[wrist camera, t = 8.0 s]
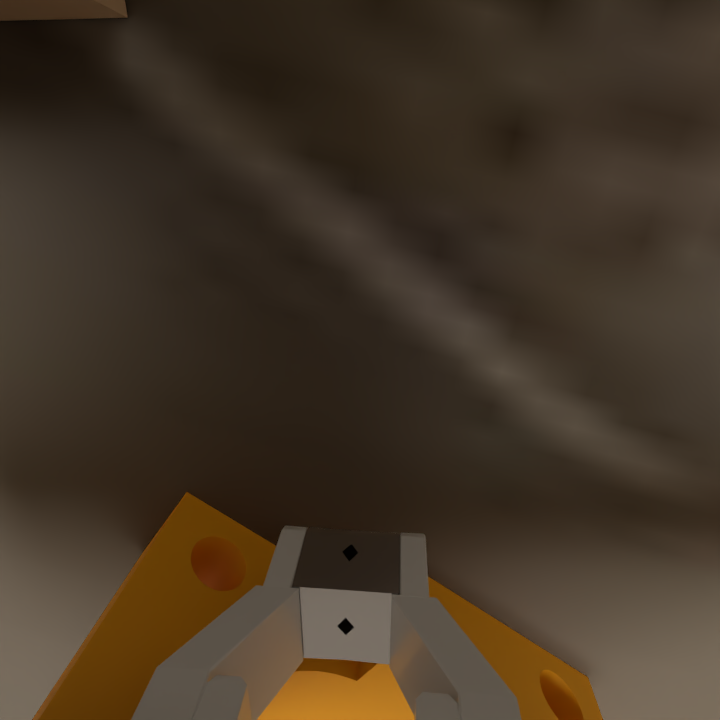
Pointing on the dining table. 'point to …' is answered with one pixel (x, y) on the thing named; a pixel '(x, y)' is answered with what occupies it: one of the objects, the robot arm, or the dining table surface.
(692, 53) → the dining table surface
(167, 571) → the pipe clamp
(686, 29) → the dining table surface
